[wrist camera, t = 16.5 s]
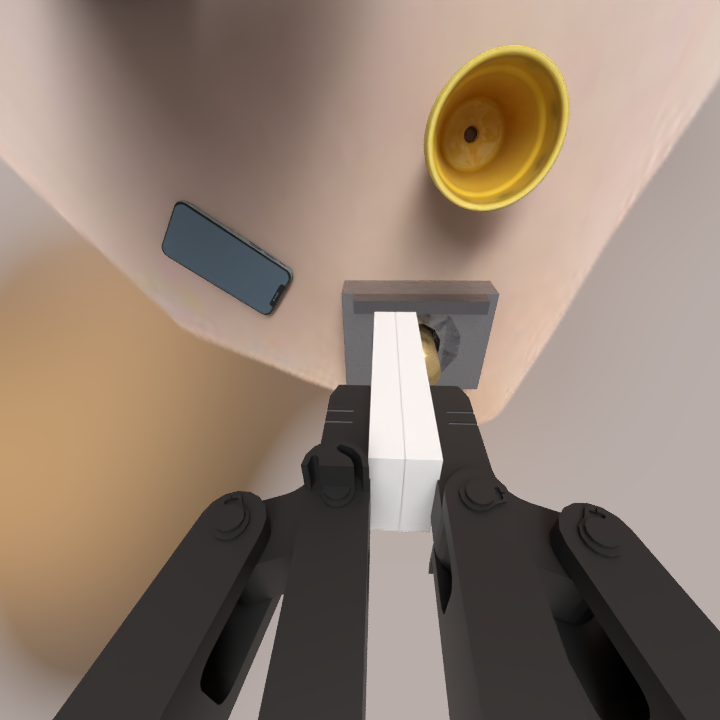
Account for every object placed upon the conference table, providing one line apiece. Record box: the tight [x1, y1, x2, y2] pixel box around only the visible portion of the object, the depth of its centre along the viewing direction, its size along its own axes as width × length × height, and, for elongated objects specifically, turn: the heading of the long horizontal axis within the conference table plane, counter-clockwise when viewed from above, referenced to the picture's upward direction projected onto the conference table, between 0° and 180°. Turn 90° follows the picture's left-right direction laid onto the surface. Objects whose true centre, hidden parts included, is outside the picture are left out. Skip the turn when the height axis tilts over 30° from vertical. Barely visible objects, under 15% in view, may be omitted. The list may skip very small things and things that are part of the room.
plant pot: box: [424, 45, 569, 211], centre depth 29 cm, size 10×10×10 cm
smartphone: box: [162, 201, 293, 315], centre depth 42 cm, size 8×2×15 cm
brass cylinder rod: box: [418, 324, 441, 386], centre depth 42 cm, size 5×5×10 cm
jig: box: [342, 281, 499, 389], centre depth 43 cm, size 18×14×6 cm
